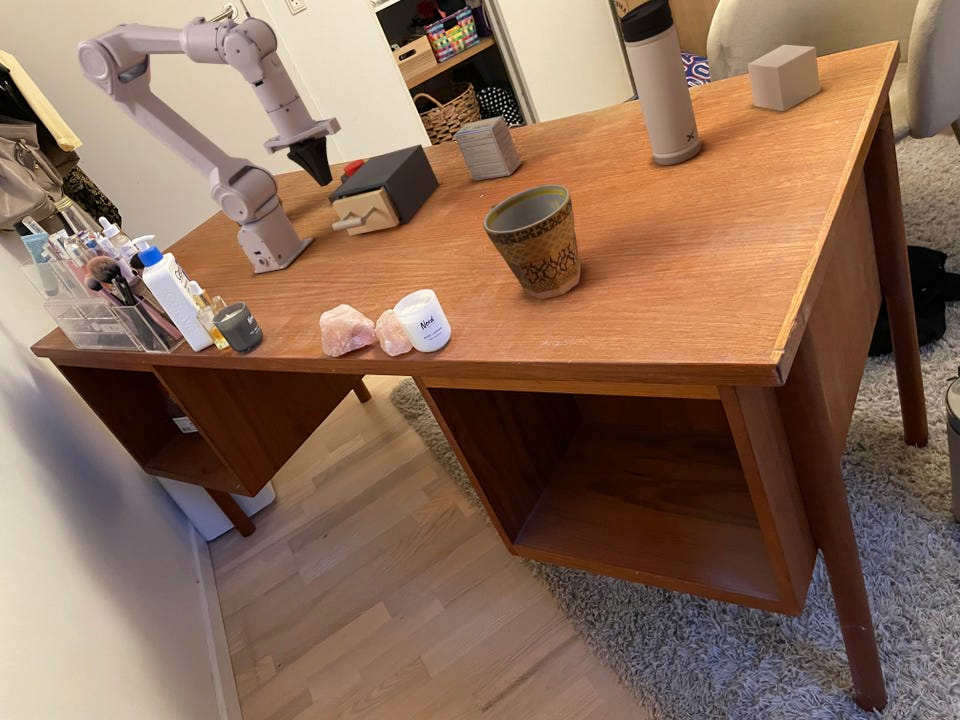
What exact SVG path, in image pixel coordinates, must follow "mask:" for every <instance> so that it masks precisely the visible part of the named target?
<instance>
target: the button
mask: <svg viewBox="0 0 960 720" xmlns="http://www.w3.org/2000/svg"><path fill="white" fill-rule="evenodd" d="M365 162H366V161H364V159H356V160H354V161H353V162H350V163H349V164H347V165H346V166H345V167H343V171H344V173H346V175H347V177H351V176H352V175H353V174H354V173H355V172H356V171H357V170H359V169H360V168H361V167H362V166H363V165H364V164H365Z"/></svg>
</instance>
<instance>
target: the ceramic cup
mask: <svg viewBox="0 0 960 720" xmlns="http://www.w3.org/2000/svg"><path fill="white" fill-rule="evenodd" d="M482 225H483V229H484V231H485V233H486V235H487V237H488V238H489V240H490V241H491V243H492V244H493V246H494V248H495V249H496V250H497V252H498V253H499V255H500V256H501V257H502V258H503V260H504V261H505V263H506V265H507V266H508V268H509V269H510V271H511V272H512V274H513V275H514V276H515V277H516V280H517V281H518V282H519V284H520V286H521V288H522V289H523V290H524V291H525V293H526V294H528V295H529V296H532V297H534V298H536V299H538V300H545V299H549V298H555V297H560V296H562V295H564V294H566V293H567V292H569V291H571V289H573V288H574V287H575V286H577V285H578V284H579V282H580V278H581V270H582V269H581V261H580V255H579V249H578V242H577V235H576V231H575V230H576V228H575V215H574V209H573V202H572V198H571V193H570V191H569V189H568V188H566V187H565V186H563V185H559V184H546V185H539V186H534V187H532V188H531V187H530V188H528V189H525V190H522V191H520V192H517V193H515V194H512V195H511V196H509V197H507V198H506V199H504V200H502V201H500V202H499V203H495V204H493V205H492V206H491V207H490V211H489V212H488V213H487V214H486V216H485V217H484V219H483V223H482Z"/></svg>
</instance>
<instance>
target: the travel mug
mask: <svg viewBox="0 0 960 720" xmlns="http://www.w3.org/2000/svg"><path fill="white" fill-rule="evenodd" d="M672 15H673V13H672V9H671V6H670V2H669V0H646V1H645V2H643V3H641V4H638V5H637V6H636V7H634V8H632V9H630V10H629V11H628V12H627V13H626V14H624V15H623V16H622V17H621V19H620V23H619V24H620V29H621V32H622V34H623V36H622V37H623V42H624V45H625V49H626V53H627V58H628V62H629V66H630V70H631V74H632V78H633V81H634V85H635V89H636V92H637V96H638V100H639V104H640V108H641V112H642V115H643V119H644V124H645V127H646V131H647V135H648V139H649V144H650V147H651V151H652V154H653V159H654V162H655V163H656V164H658V165H661V166H673V165H677V164H681V163H683V162H687V161H689V160H691V159H692V158H693V157H695V156H696V155H697V154H698V153H699V152H700V151H701V149H702V145H701V139H700V137H699V131H698V125H697V121H696V116H695V112H694V108H693V103H692V99H691V98H692V97H691V94H690V88H689V85H688V79H687V75H686V70H685V66H684V62H683V55H682V51H681V46H680V43H679V37H678V34H677V29H676V28H675V27H676V24H675V22H674V17H673V16H672Z"/></svg>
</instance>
